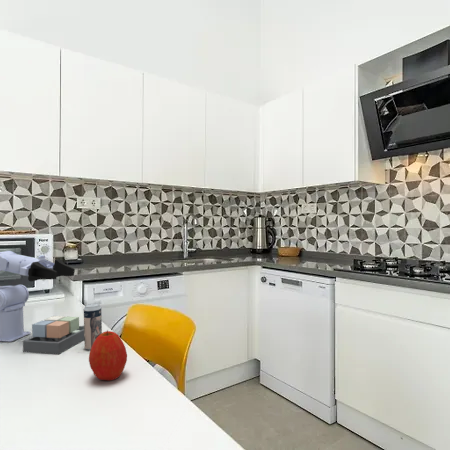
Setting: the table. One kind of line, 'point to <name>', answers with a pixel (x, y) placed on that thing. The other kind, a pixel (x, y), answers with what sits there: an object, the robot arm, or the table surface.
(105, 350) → the apple
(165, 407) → the table surface
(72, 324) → the key sage
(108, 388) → the table surface
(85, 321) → the beer can
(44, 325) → the pale blue block
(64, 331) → the key terracotta
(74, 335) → the grey tray
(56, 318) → the off-white square block
